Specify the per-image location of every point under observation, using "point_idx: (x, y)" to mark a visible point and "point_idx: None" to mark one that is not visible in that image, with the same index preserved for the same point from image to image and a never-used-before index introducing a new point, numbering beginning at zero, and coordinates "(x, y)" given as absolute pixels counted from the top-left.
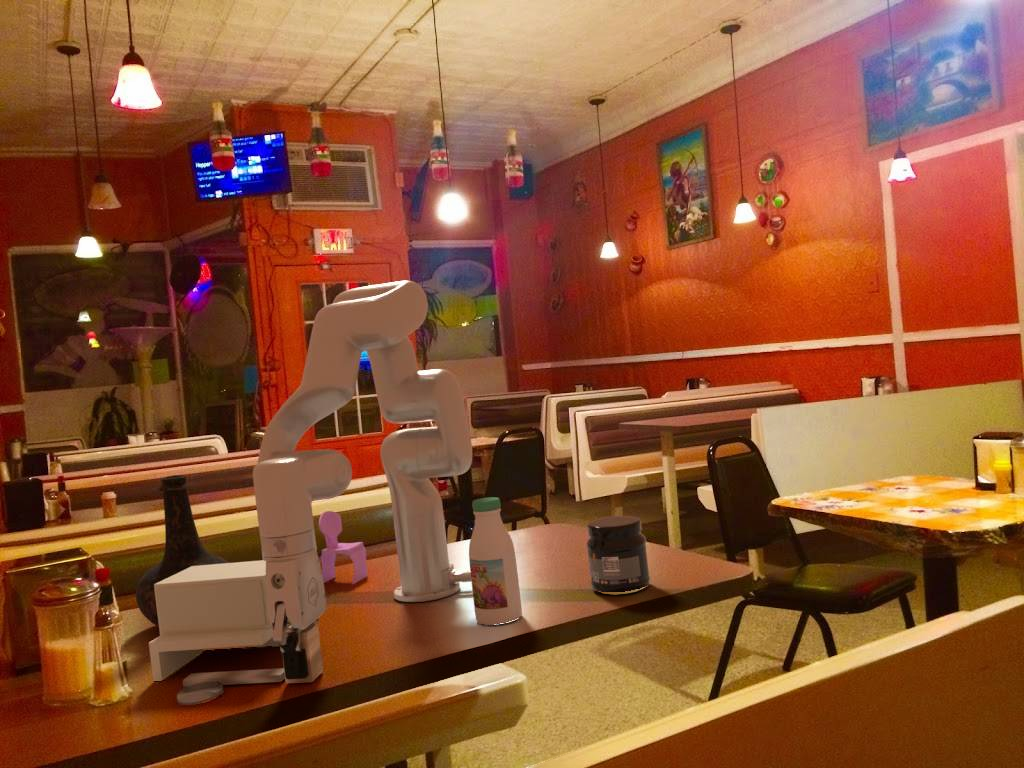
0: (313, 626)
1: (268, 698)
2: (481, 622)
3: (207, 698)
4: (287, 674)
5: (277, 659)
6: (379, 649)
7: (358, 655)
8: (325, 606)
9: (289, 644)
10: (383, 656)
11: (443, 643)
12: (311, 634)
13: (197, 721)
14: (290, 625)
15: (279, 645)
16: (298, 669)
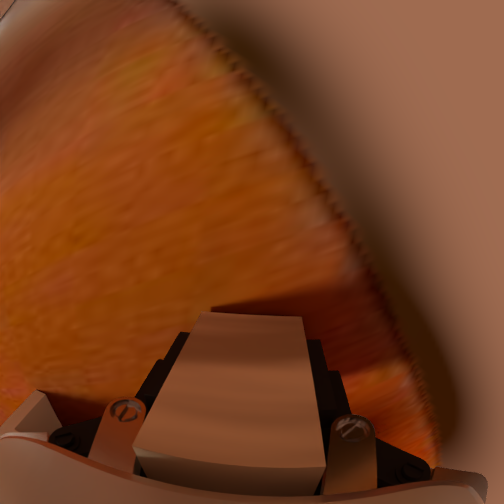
0: (193, 461)
1: (372, 392)
2: (7, 5)
3: None
4: None
5: None
6: (41, 178)
7: (72, 231)
8: (14, 452)
9: (419, 460)
10: (88, 135)
11: (58, 16)
12: (255, 440)
13: (422, 449)
14: (31, 431)
15: (61, 426)
16: (340, 377)
